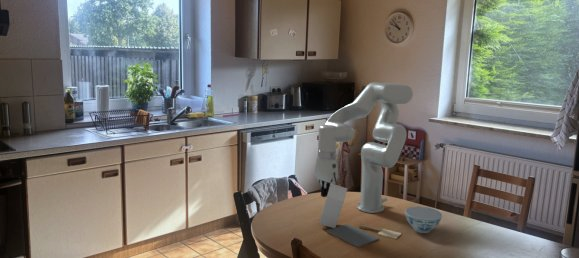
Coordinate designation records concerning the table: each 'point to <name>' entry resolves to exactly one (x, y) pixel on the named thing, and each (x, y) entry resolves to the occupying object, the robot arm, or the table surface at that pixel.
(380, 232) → the turner
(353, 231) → the mat
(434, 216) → the chinaware
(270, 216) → the table surface
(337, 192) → the milk carton
